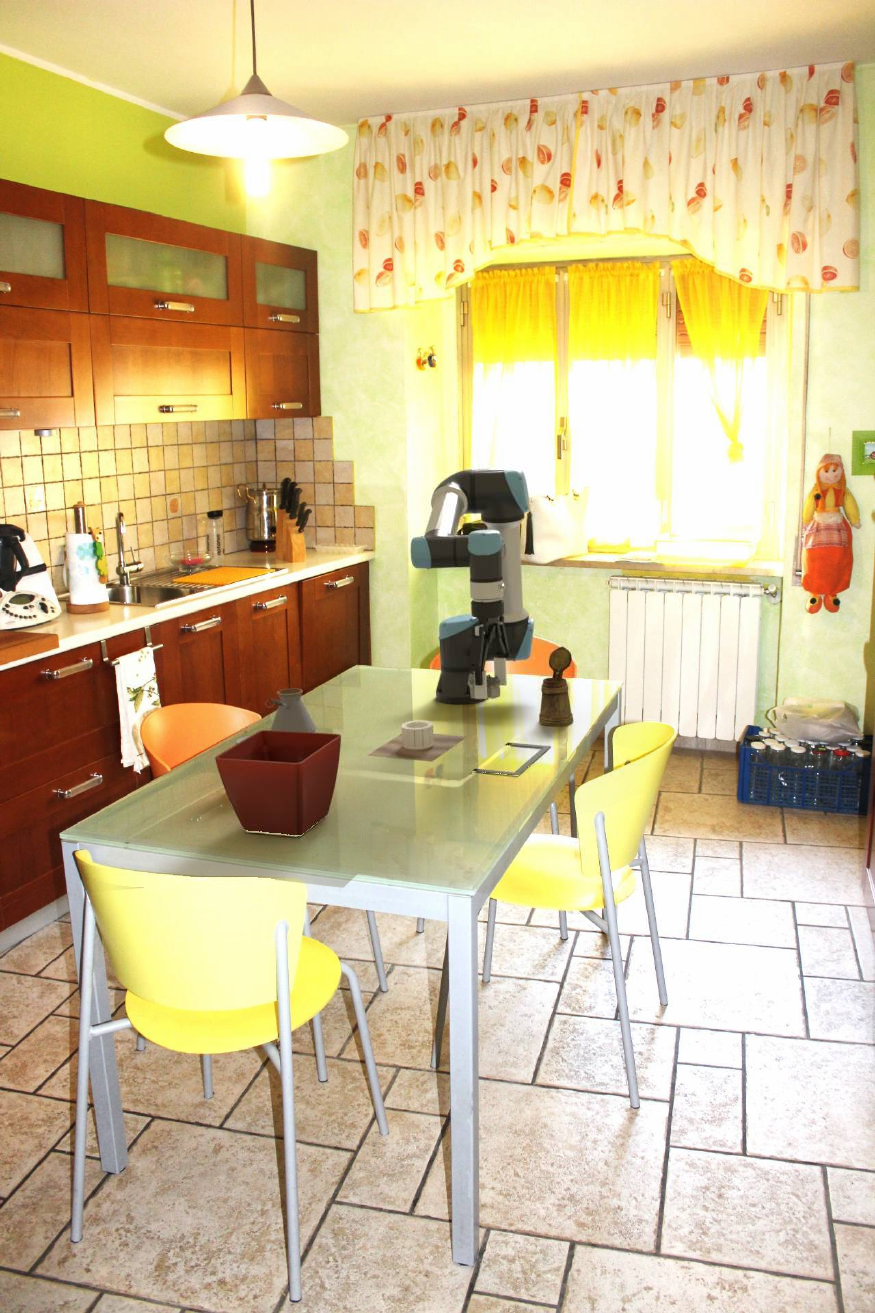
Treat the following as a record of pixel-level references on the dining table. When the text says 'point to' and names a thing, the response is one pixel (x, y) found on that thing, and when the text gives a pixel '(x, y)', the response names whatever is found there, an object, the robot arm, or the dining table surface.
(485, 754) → the dining table surface
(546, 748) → the mat border
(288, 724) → the coffee pot
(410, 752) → the walnut board
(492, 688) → the egg carton
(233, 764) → the plant pot
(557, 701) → the wooden mug
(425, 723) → the cream hollow cylinder
